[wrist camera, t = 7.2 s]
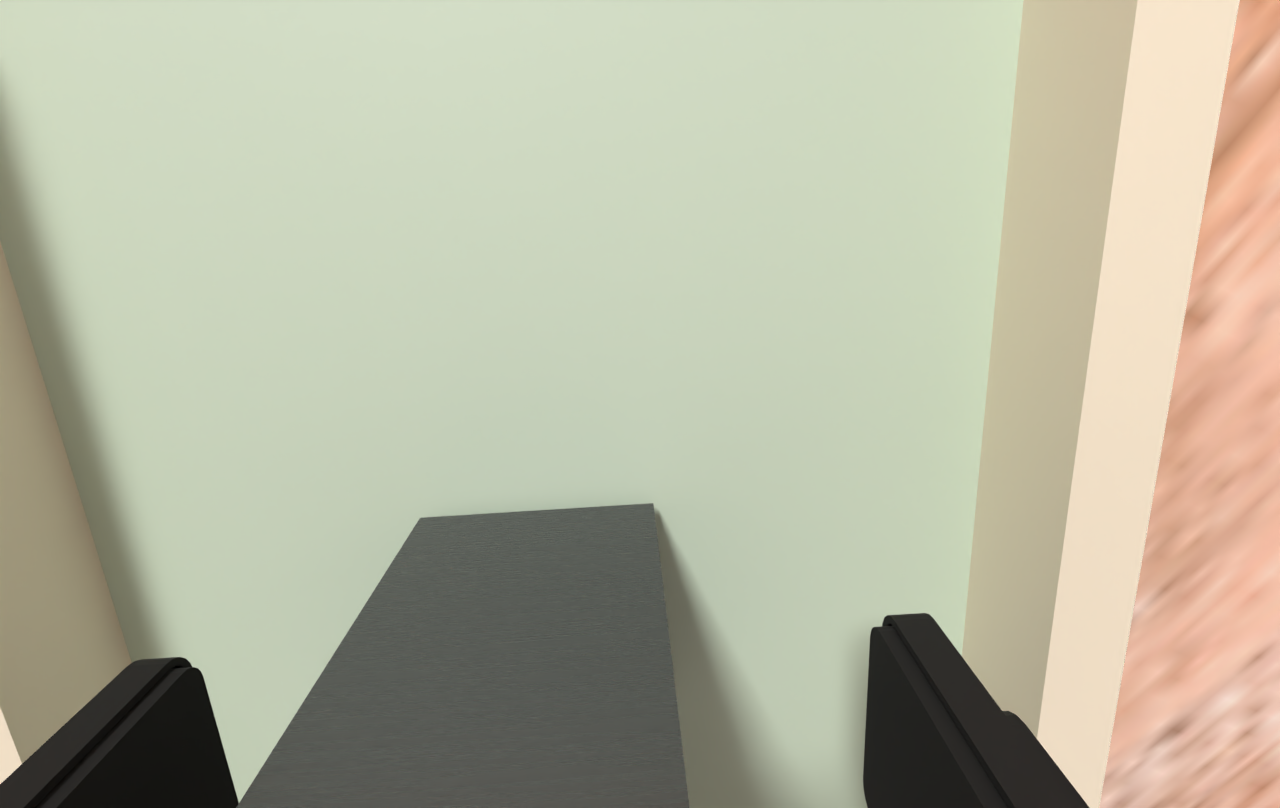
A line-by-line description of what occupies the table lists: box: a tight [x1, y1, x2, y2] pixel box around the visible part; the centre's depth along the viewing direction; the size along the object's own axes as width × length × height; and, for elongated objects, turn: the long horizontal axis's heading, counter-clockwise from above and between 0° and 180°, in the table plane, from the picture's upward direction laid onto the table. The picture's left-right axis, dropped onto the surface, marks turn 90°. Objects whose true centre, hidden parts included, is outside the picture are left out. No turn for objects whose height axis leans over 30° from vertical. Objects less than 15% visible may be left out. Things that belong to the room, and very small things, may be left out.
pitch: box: [0, 0, 1240, 808], centre depth 12 cm, size 18×27×3 cm, turn 3°
